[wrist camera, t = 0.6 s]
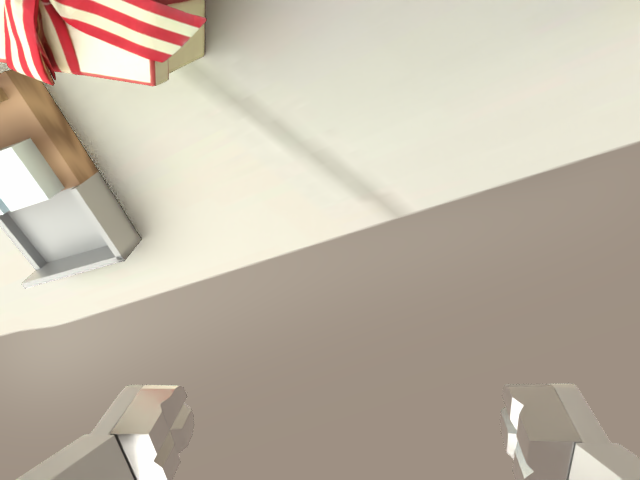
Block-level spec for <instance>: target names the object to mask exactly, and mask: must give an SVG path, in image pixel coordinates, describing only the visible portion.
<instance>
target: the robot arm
mask: <svg viewBox="0 0 640 480" xmlns="http://www.w3.org/2000/svg"><path fill="white" fill-rule="evenodd" d="M186 398H187V394H186V392H185V389H184V387H182V386H169V385H128V386H126V387H125V388H123V389H122V391H121V392H120V394H119V395H118V396H117V398H116V399H115V400H114V402H113V403H112V405H111V406H110V407H109V409H108V410H107V412H106V413H105V414H104V416H103V417H102V418H101V420H100V421H99V423H98V424H97V425H96V427H95V428H94V429H93V431H92V432H91V433H90V434H88V435H86V434H85V435H83V436H81V437H80V438H78V439H77V440H75V441H74V442H72V443H71V444H69V445H68V446H66V447H65V448H63V449H62V450H60V451H59V452H57V453H56V454H54V455H53V456H51V457H49V458H48V459H46V460H45V461H43V462H42V463H40V464H39V465H37V466H36V467H34V468H33V469H31V470H30V471H28V472H27V473H25V474H24V475H22V476H21V477H19V478H18V479H16V480H172V479H173V477H174V475H175V473H176V471H177V469H178V466H179V464H180V462H181V461H180V457H179V453H180V452H181V451H183V450H184V449H185V448H186V447H187V446H188V445H189V442H190V440H191V437H192V433H193V429H194V415H193V412H192V409H191V408H190V407H189V406H187V405H186V404H185V403H184V402H185V400H186ZM502 398H503V400H504V404H505V406H506V407H504V408H503V409H502V410H501V418H500V423H501V434H502V438H503V443H504V446H505V449H506V452H507V454H509V455H510V456H511V457H512V458H513V459H514V461H513V474H514V477H515V480H640V458H639V457H638V456H636V455H635V454H633V453H632V452H630V451H629V450H627V449H626V448H625V447H623V446H622V445H620V444H614V443H611V442H610V440H609V438H608V437H607V435H606V433H605V432H604V430H603V429H602V427H601V425H600V424H599V422H598V420H597V419H596V417H595V415H594V414H593V412H592V410H591V409H590V407H589V405H588V404H587V402H586V400H585V399H584V397H583V395H582V394H581V392H580V391H579V389H578V387H577V386H576V385H574V384H518V385H517V384H516V385H514V384H512V385H511V384H510V385H504V387H503V394H502Z"/></svg>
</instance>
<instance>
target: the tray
mask: <svg viewBox="0 0 640 480" xmlns="http://www.w3.org/2000/svg"><path fill="white" fill-rule="evenodd" d="M0 227H1V228H2V230H3V231H4V232H5V233H6V235H7V236H8V237H9V238H10V239H11V241H12V242H13V243H14V244H15V246H16V247H17V248H18V249H19V250H20V252H21V253H22V254H23V255H24V257H25V258H26V259H27V260H28V262H29V263H30V264H31V265H32V266H33V268H34V269H35V270H36V271H34V272H33V273H32V274H31V275H30V276H29V277H28V278H27V279H26V280H25V281H24V282H22V283H21V285H22V286H23V287H24V288H25V289H26V288H29V287H33V286H36V285H40V284H44V283H47V282H51V281H54V280H58V279H61V278H65V277H69V276H72V275H76V274H79V273H83V272H86V271H90V270H93V269H97V268H101V267H104V266H108V265H111V264H115V263H118V262H122V261H125V260H126V259H127V257H128V256H129V255H130V254H131V252H132V251H133V250H134V249H135V247H136V246H137V245H138V244H139V242H140V241H141V240H142V239H141V238H140V236H139V234H138V233H137V231H136V230H135V228H134V227H133V225H132V223H131V222H130V220H129V219H128V217H127V216H126V214H125V212H124V211H123V209H122V208H121V206H120V204H119V203H118V201H117V200H116V198H115V197H114V195H113V193H112V192H111V190H110V189H109V187H108V185H107V184H106V182H105V181H104V179H103V178H102V176H101V174H100V173H99V171H98V172H97V173H96V174H94V175H93V176H91V177H90V178H89V179H87V180H86V181H85V182H83V183H82V184H81V185H78V186H75V187H72V188H69V189H66V190H63V191H60V192H58V193H57V194H56V195H54V196H53V197H51V198H50V199H48V200H45V201H42V202H39V203H36V204H33V205H30V206H27V207H24V208H21V209H18V210H15V211H12V212H11V211H10V210H9V211H8V212H6V213H5V214H3V215H0Z"/></svg>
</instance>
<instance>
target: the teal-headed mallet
mask: <svg viewBox="0 0 640 480" xmlns="http://www.w3.org/2000/svg"><path fill="white" fill-rule="evenodd" d="M6 100H8V98H7V96H6V95H5V93H4V92H3V90H2V89H1V88H0V103H1V102H3V101H6Z"/></svg>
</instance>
